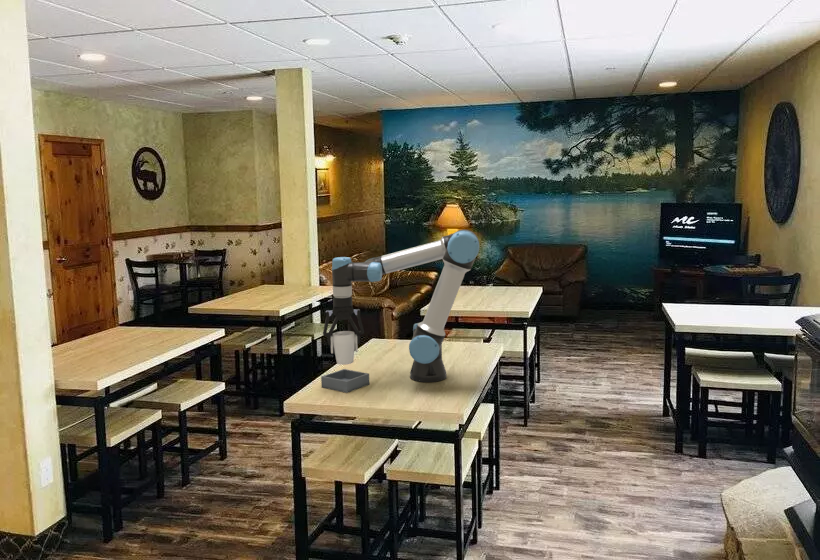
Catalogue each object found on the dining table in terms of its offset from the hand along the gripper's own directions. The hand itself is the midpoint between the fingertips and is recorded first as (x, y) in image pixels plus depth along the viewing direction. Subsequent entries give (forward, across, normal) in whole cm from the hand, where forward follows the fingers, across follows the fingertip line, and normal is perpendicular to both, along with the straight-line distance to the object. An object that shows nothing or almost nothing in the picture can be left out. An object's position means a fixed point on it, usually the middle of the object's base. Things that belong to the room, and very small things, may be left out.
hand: (344, 351), depth 270 cm
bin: (+14, 0, 0) cm, 14 cm away
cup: (+5, 0, 0) cm, 5 cm away
